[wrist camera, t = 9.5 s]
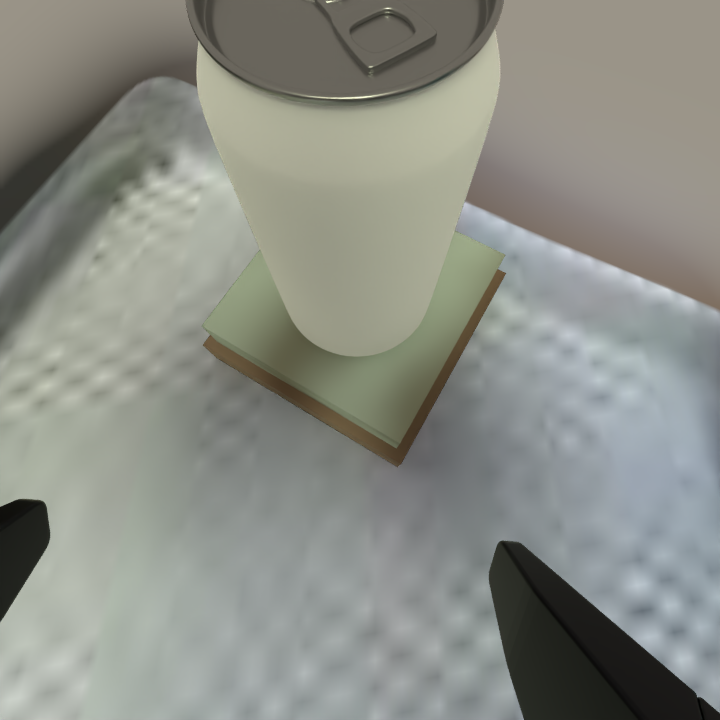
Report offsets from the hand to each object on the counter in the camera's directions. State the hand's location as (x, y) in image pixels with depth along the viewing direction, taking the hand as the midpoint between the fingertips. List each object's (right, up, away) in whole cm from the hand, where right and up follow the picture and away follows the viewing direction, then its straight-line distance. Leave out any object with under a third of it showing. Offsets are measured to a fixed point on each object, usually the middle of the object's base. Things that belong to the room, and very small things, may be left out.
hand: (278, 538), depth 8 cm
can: (+2, +7, +11) cm, 13 cm away
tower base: (+2, +6, +14) cm, 15 cm away
